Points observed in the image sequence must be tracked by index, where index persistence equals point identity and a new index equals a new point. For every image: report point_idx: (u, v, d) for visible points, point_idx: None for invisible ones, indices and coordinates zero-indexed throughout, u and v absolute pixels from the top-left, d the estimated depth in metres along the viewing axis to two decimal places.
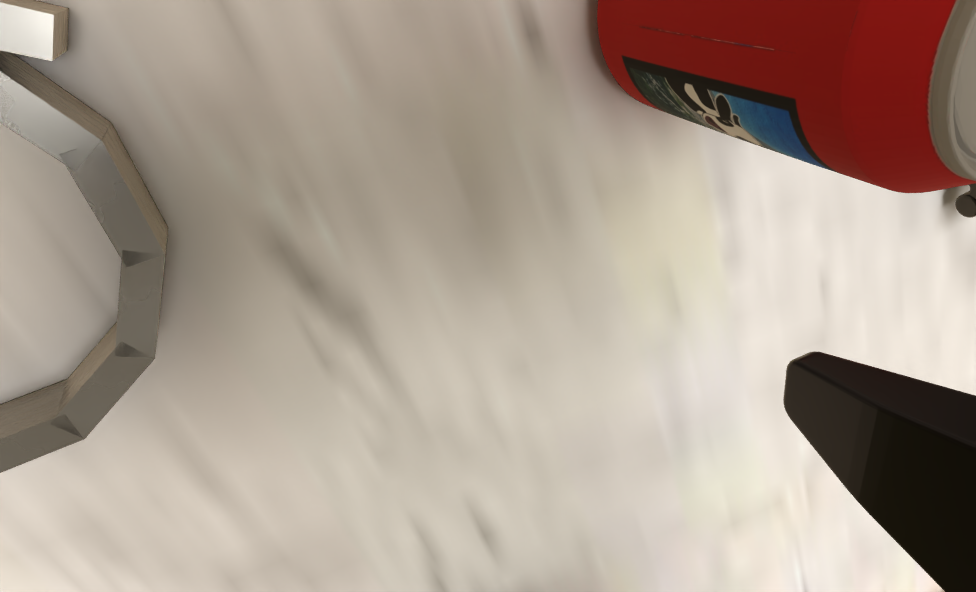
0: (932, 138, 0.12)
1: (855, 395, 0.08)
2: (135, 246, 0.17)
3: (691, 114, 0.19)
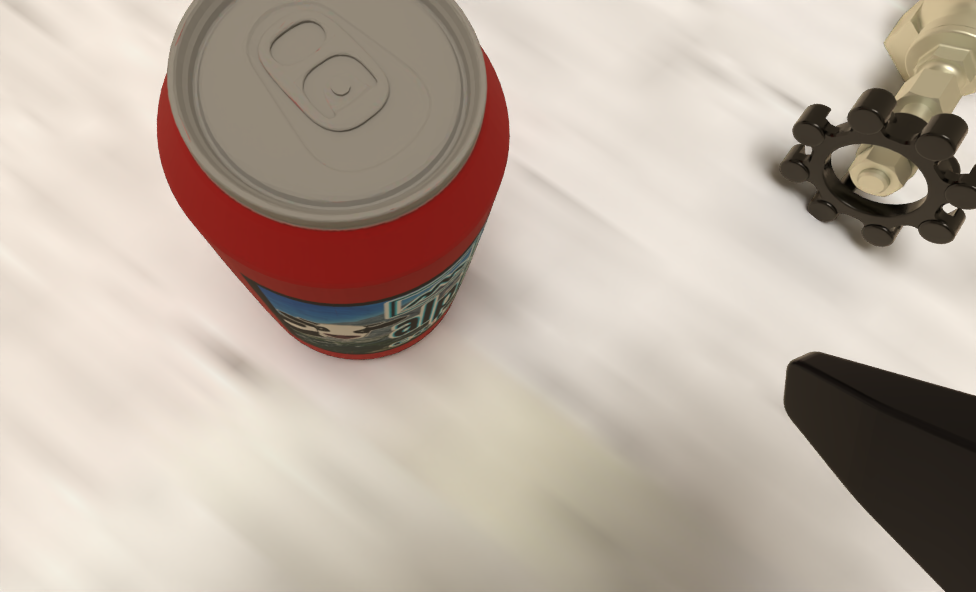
0: (270, 217, 0.11)
1: (855, 395, 0.08)
2: None
3: (336, 341, 0.18)
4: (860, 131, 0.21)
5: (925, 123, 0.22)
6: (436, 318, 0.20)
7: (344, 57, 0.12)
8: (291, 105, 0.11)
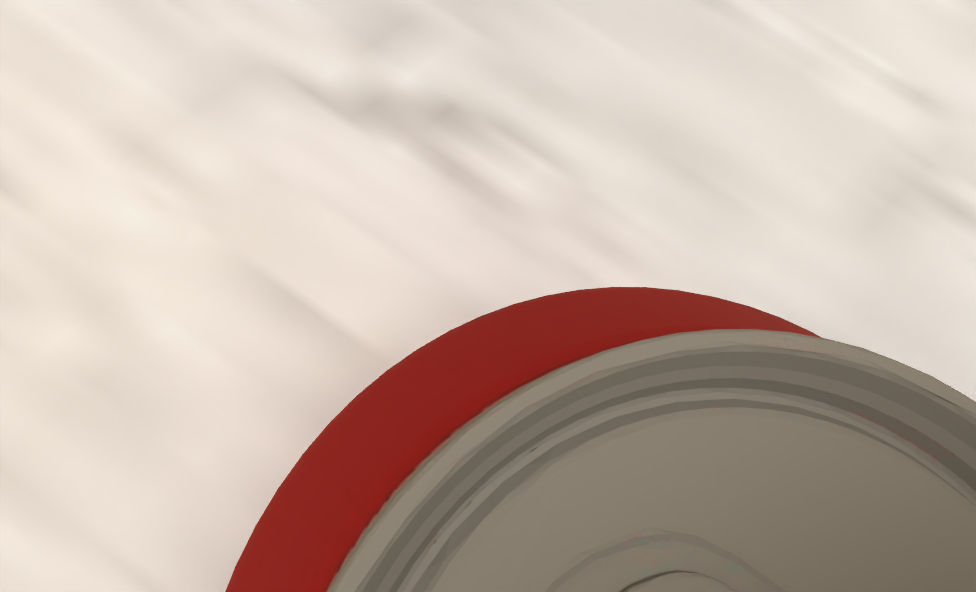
0: None
1: None
2: None
3: None
4: None
5: None
6: None
7: None
8: None
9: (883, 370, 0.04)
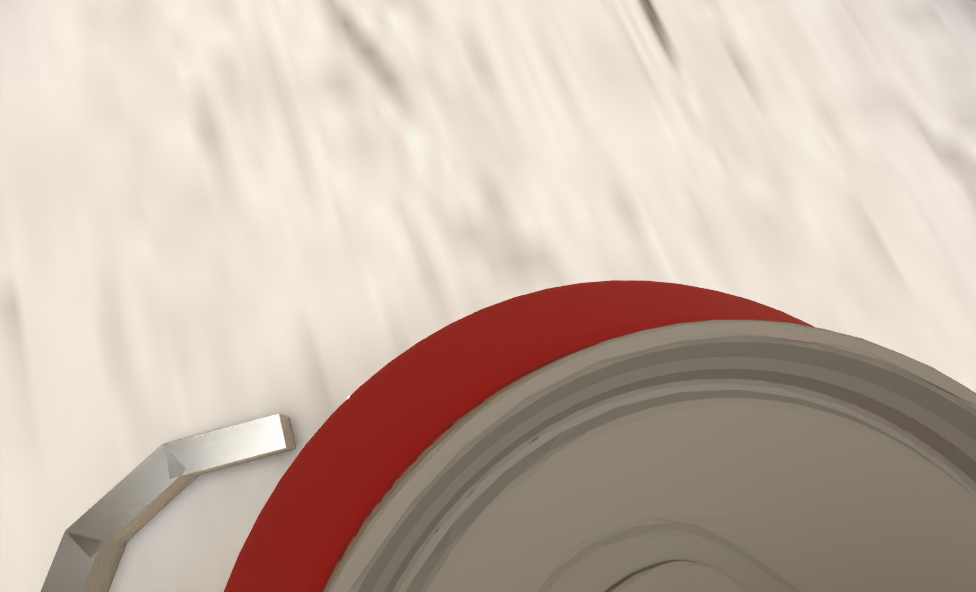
0: None
1: None
2: None
3: None
4: None
5: None
6: None
7: None
8: None
9: (884, 361, 0.04)
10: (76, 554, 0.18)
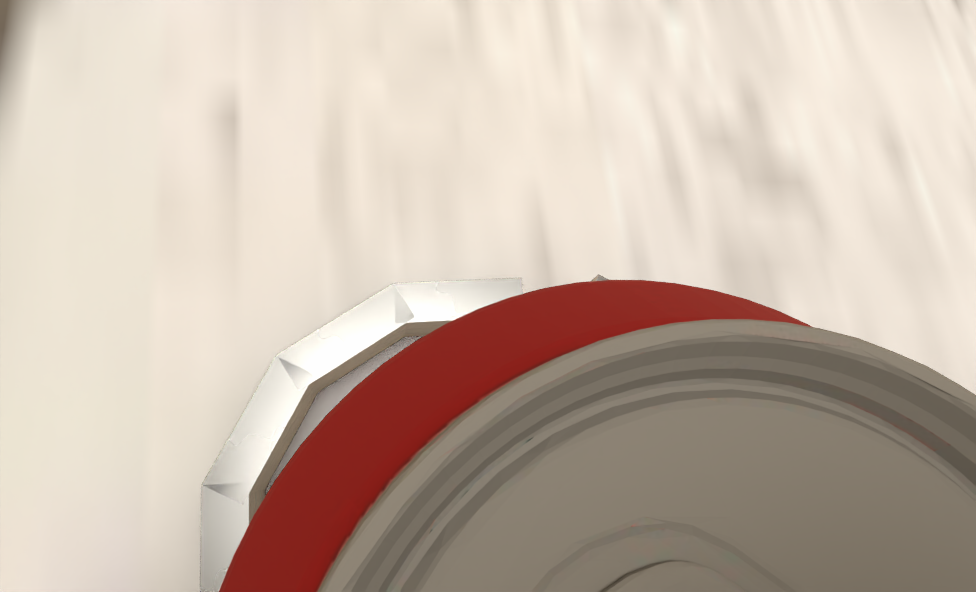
0: None
1: None
2: None
3: None
4: None
5: None
6: None
7: None
8: None
9: (879, 361, 0.04)
10: (284, 383, 0.15)
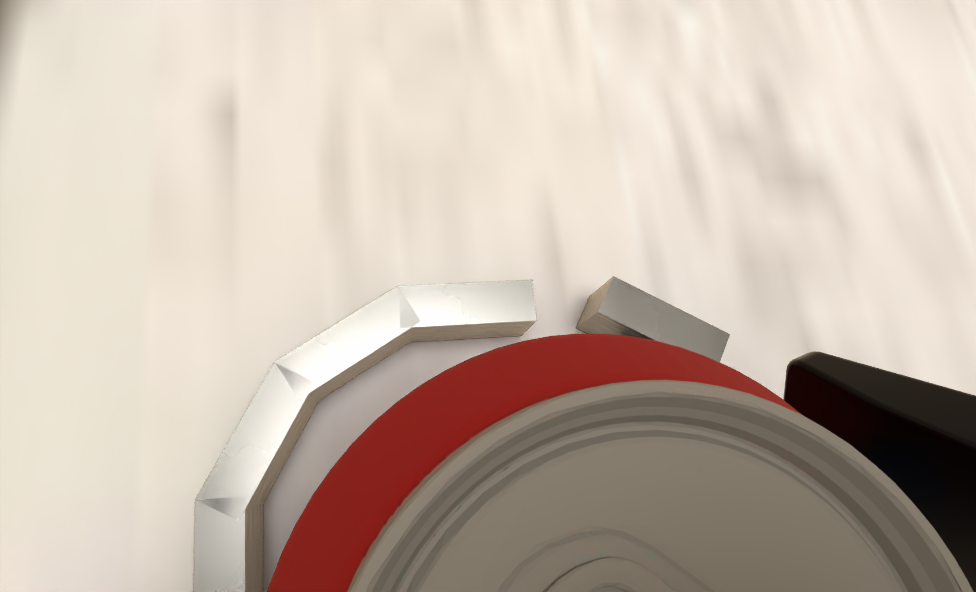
0: None
1: (855, 395, 0.08)
2: None
3: None
4: None
5: None
6: None
7: None
8: None
9: (764, 410, 0.05)
10: (283, 391, 0.14)
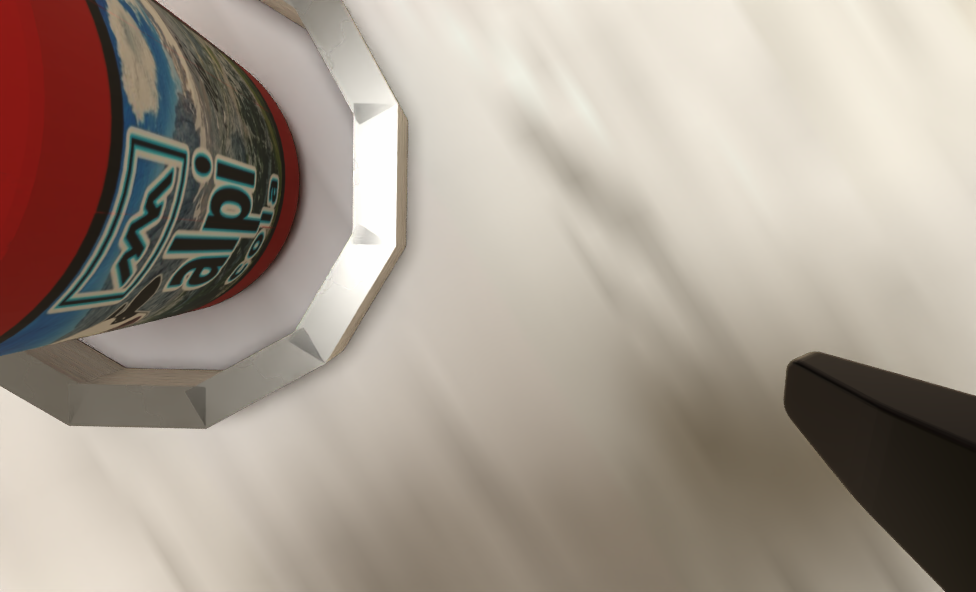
0: None
1: (855, 395, 0.08)
2: (366, 97, 0.15)
3: (134, 324, 0.13)
4: None
5: None
6: (264, 222, 0.14)
7: None
8: None
9: None
10: None
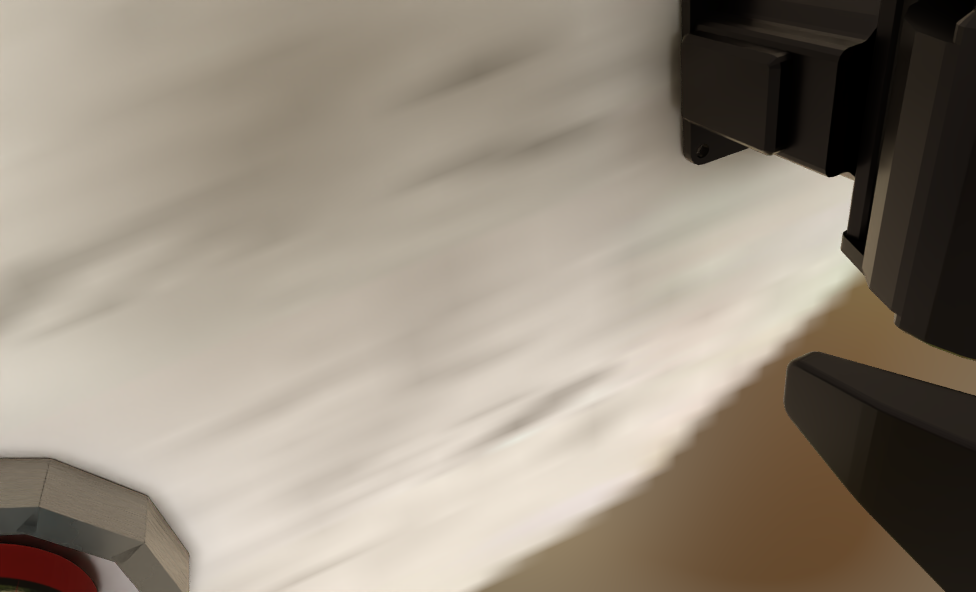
0: None
1: (855, 395, 0.08)
2: None
3: None
4: None
5: None
6: None
7: None
8: None
9: None
10: None
